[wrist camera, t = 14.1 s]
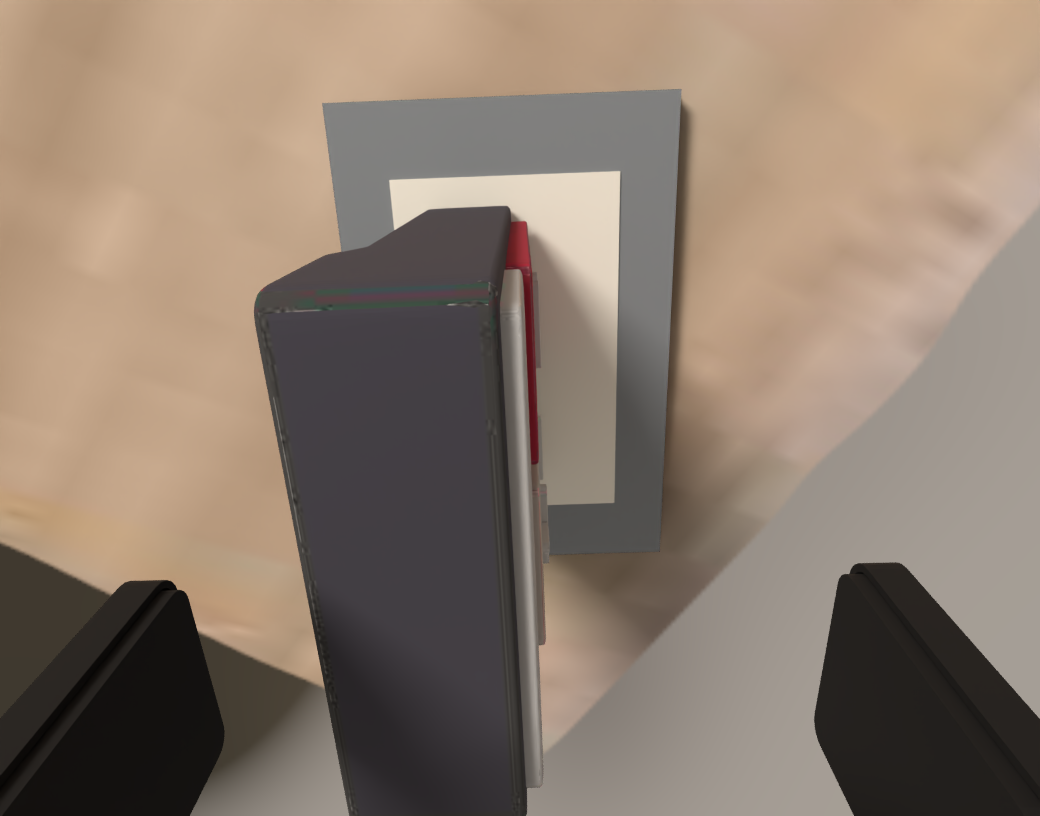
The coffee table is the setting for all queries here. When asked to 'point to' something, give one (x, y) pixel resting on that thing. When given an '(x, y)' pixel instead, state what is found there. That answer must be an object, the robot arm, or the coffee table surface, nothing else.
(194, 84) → the coffee table surface
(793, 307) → the coffee table surface
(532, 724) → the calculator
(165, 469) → the coffee table surface
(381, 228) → the slate picture frame
